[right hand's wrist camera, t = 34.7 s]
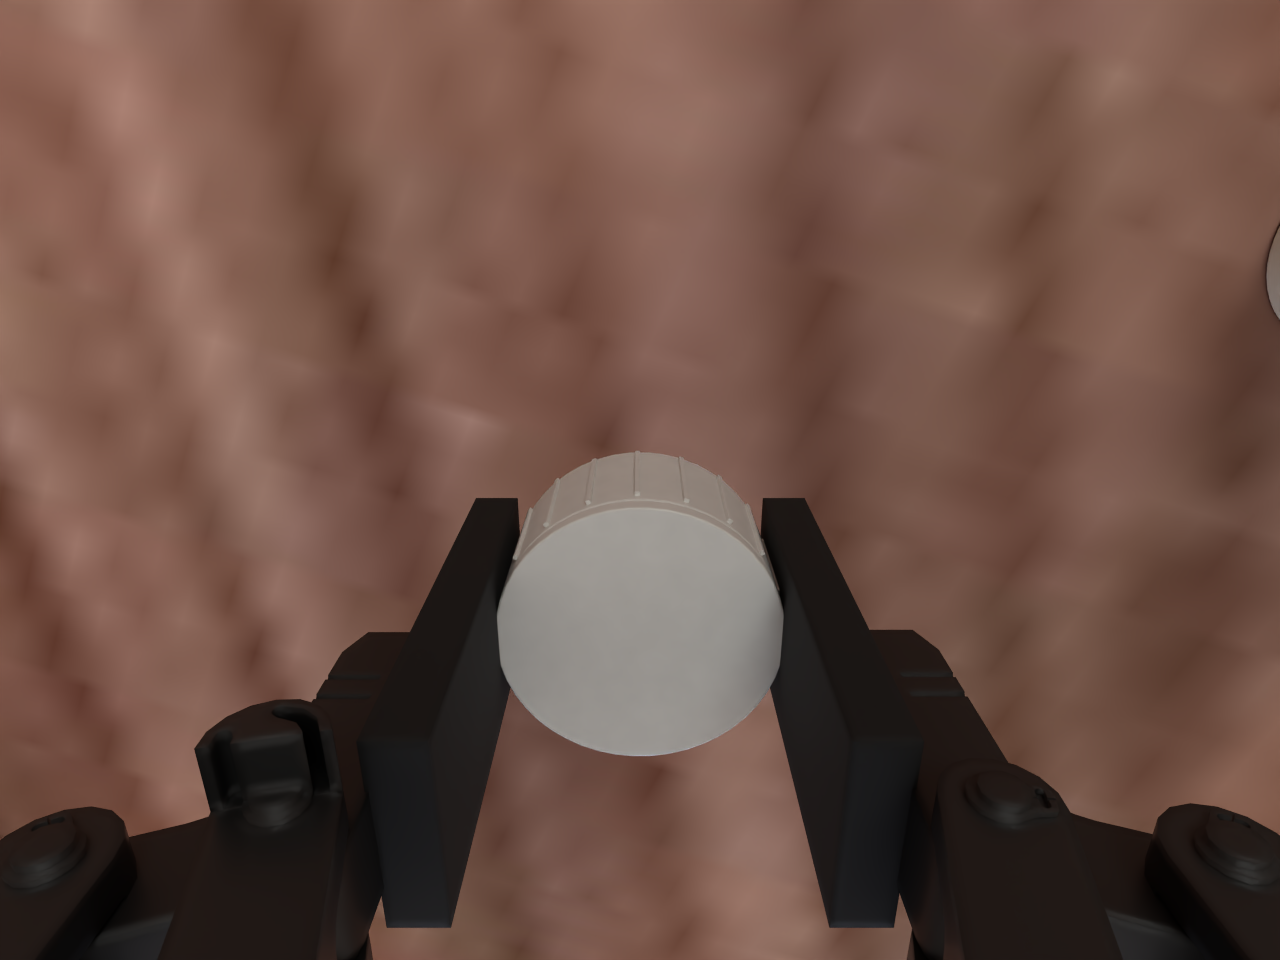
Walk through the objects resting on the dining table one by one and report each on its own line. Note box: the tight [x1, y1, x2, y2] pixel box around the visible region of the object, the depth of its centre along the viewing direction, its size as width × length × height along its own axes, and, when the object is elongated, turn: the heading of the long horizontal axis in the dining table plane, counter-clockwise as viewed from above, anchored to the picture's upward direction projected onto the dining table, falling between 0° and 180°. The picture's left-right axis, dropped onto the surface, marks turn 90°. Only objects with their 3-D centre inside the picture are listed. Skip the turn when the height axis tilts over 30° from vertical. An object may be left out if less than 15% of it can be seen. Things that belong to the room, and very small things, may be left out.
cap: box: [497, 451, 784, 756], centre depth 14 cm, size 5×5×2 cm
